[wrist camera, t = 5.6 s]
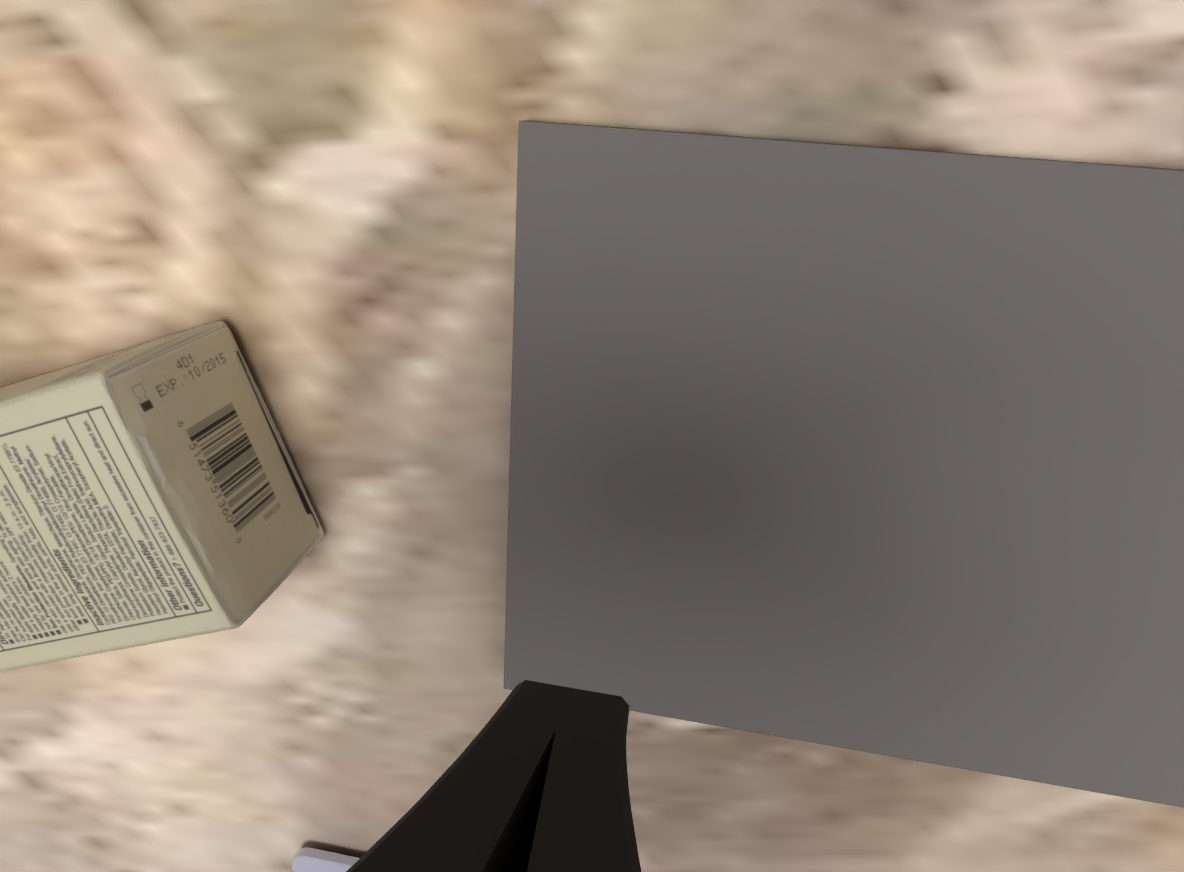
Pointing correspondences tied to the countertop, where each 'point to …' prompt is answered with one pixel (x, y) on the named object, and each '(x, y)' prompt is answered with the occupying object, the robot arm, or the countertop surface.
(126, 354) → the skincare box
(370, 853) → the robot arm
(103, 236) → the countertop surface
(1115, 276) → the mat
